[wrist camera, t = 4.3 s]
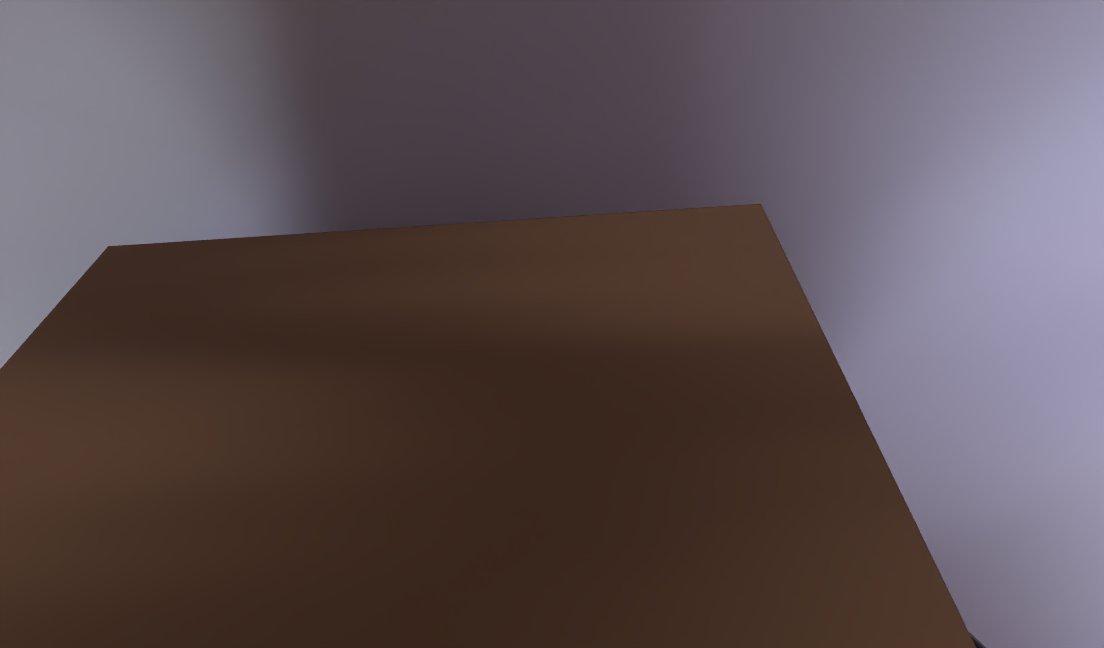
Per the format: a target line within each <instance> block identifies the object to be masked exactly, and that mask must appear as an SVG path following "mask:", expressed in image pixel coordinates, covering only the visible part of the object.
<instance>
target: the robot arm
mask: <svg viewBox="0 0 1104 648" xmlns="http://www.w3.org/2000/svg"><path fill="white" fill-rule="evenodd" d="M969 634H970V633H969ZM970 636H971V638H972V640H973V642H974V644H975V646H976V648H986V647H985V646H984V645H983V644H982V643H980V642H979V641H978V640H977V639H976V638H975V637H974V636H973V635H972V634H970Z"/></svg>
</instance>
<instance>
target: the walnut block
mask: <svg viewBox="0 0 1104 648" xmlns="http://www.w3.org/2000/svg"><path fill="white" fill-rule="evenodd" d="M0 648H976V646H975V644H974V642H973V640H972V638H971V636H970V634H969V632H968V630H967V628H966V626H965V624H964V622H963V620H962V618H961V615H960V613H959V611H958V609H957V607H956V605H955V603H954V601H953V599H952V597H951V595H950V593H949V591H948V589H947V587H946V585H945V583H944V580H943V578H942V576H941V574H940V572H939V570H938V568H937V566H936V564H935V562H934V560H933V558H932V556H931V554H930V552H929V550H928V547H927V545H926V543H925V541H924V539H923V537H922V535H921V533H920V531H919V529H918V527H917V525H916V523H915V521H914V519H913V517H912V514H911V512H910V510H909V508H908V506H907V504H906V502H905V500H904V498H903V496H902V494H901V492H900V490H899V488H898V486H897V484H896V482H895V479H894V477H893V475H892V473H891V471H890V469H889V467H888V465H887V463H886V461H885V459H884V457H883V455H882V453H881V451H880V449H879V446H878V444H877V442H876V440H875V438H874V436H873V434H872V432H871V430H870V428H869V426H868V424H867V422H866V420H865V418H864V416H863V413H862V411H861V409H860V407H859V405H858V403H857V401H856V399H855V397H854V395H853V393H852V391H851V389H850V387H849V385H848V383H847V381H846V378H845V376H844V374H843V372H842V370H841V368H840V366H839V364H838V362H837V360H836V358H835V356H834V354H833V352H832V350H831V348H830V345H829V343H828V341H827V339H826V337H825V335H824V333H823V331H822V329H821V327H820V325H819V323H818V321H817V319H816V317H815V315H814V312H813V310H812V308H811V306H810V304H809V302H808V300H807V298H806V296H805V294H804V292H803V290H802V288H801V286H800V284H799V282H798V280H797V277H796V275H795V273H794V271H793V269H792V267H791V265H790V263H789V261H788V259H787V257H786V255H785V253H784V251H783V249H782V247H781V244H780V242H779V240H778V238H777V236H776V234H775V232H774V230H773V228H772V226H771V224H770V222H769V220H768V218H767V216H766V214H765V211H764V209H763V207H762V205H761V204H752V205H736V206H721V207H706V208H690V209H675V210H660V211H644V212H629V213H614V214H598V215H583V216H567V217H552V218H537V219H521V220H506V221H491V222H475V223H460V224H445V225H429V226H414V227H399V228H383V229H368V230H353V231H337V232H322V233H306V234H291V235H276V236H260V237H245V238H230V239H214V240H199V241H184V242H168V243H153V244H138V245H122V246H108V247H107V249H106V250H105V251H104V252H103V253H102V254H101V255H100V257H99V258H98V259H97V260H96V261H95V262H94V263H93V264H92V266H91V267H90V268H89V269H88V270H87V271H86V272H85V274H84V275H83V276H82V277H81V278H80V279H79V280H78V282H77V283H76V284H75V285H74V286H73V287H72V288H71V290H70V291H69V292H68V293H67V294H66V295H65V296H64V297H63V299H62V300H61V301H60V302H59V303H58V304H57V305H56V307H55V308H54V309H53V310H52V311H51V312H50V313H49V315H48V316H47V317H46V318H45V319H44V320H43V321H42V322H41V324H40V325H39V326H38V327H37V328H36V329H35V330H34V332H33V333H32V334H31V335H30V336H29V337H28V338H27V340H26V341H25V342H24V343H23V344H22V345H21V346H20V348H19V349H18V350H17V351H16V352H15V353H14V354H13V355H12V357H11V358H10V359H9V360H8V361H7V362H6V363H5V365H4V366H3V367H2V368H1V369H0Z"/></svg>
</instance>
